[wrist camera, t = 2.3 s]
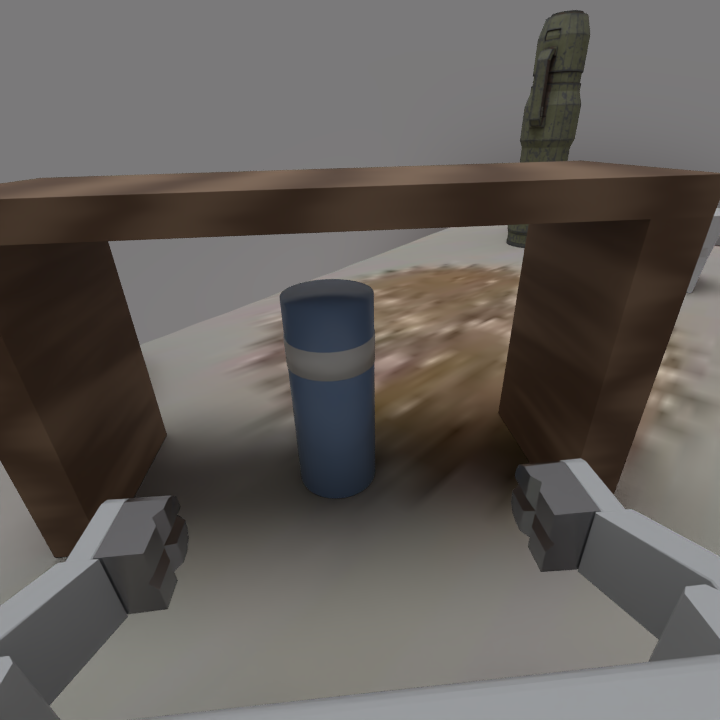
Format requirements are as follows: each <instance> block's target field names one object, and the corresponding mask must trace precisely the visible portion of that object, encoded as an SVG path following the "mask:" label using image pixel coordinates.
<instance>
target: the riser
mask: <svg viewBox="0 0 720 720" xmlns="http://www.w3.org/2000/svg"><path fill="white" fill-rule="evenodd" d="M719 200H720V173H713V172H702V171H691V170H679V169H669V168H657V167H646V166H635V165H623V164H612V163H601V162H590V161H556V162H524V163H494V164H464V165H431V166H402V167H401V166H399V167H371V168H370V167H369V168H337V169H308V170H276V171H275V170H274V171H243V172H215V173H214V172H212V173H182V174H149V175H118V176H88V177H58V178H57V177H56V178H37V179H30V180H22V181H15V182H9V183H1V184H0V461H1V462H2V464H3V466H4V468H5V470H6V471H7V473H8V475H9V477H10V479H11V480H12V482H13V484H14V486H15V487H16V489H17V491H18V493H19V495H20V496H21V498H22V500H23V502H24V504H25V505H26V507H27V509H28V511H29V512H30V514H31V516H32V518H33V520H34V521H35V523H36V525H37V527H38V528H39V530H40V532H41V534H42V536H43V537H44V539H45V541H46V543H47V545H48V546H49V548H50V550H51V552H52V553H53V555H54V557H67V556H69V555H70V553H71V552H72V550H73V548H74V547H75V545H76V544H77V542H78V540H79V539H80V537H81V536H82V534H83V532H84V531H85V529H86V528H87V526H88V524H89V523H90V521H91V520H92V518H93V516H94V515H95V513H96V512H97V510H98V508H99V507H100V505H101V504H102V503H104V502H105V501H107V500H113V499H129V498H134V496H135V494H136V492H137V490H138V488H139V486H140V485H141V483H142V481H143V479H144V477H145V475H146V473H147V471H148V469H149V468H150V466H151V464H152V462H153V460H154V458H155V456H156V454H157V452H158V451H159V449H160V447H161V445H162V443H163V441H164V439H165V437H166V435H167V433H166V430H165V427H164V424H163V420H162V417H161V414H160V410H159V407H158V404H157V401H156V397H155V394H154V391H153V387H152V384H151V381H150V378H149V374H148V371H147V368H146V364H145V361H144V358H143V355H142V351H141V348H140V345H139V341H138V338H137V335H136V332H135V329H134V325H133V322H132V319H131V315H130V312H129V309H128V305H127V302H126V299H125V295H124V293H123V289H122V286H121V282H120V279H119V276H118V273H117V269H116V266H115V263H114V259H113V256H112V253H111V250H110V246H109V243H108V241H121V240H122V241H123V240H146V239H171V238H194V237H195V238H197V237H220V236H221V237H222V236H246V235H270V234H296V233H320V232H344V231H345V232H346V231H367V230H368V231H369V230H394V229H418V228H419V229H420V228H443V227H469V226H494V225H519V224H529V225H528V231H527V237H526V244H525V250H524V256H523V262H522V269H521V275H520V281H519V287H518V294H517V300H516V306H515V312H514V319H513V325H512V331H511V337H510V344H509V350H508V356H507V362H506V368H505V375H504V381H503V387H502V393H501V400H500V406H499V412H498V413H499V415H500V416H501V418H502V419H503V421H504V423H505V424H506V426H507V427H508V429H509V430H510V432H511V434H512V435H513V437H514V438H515V440H516V441H517V443H518V445H519V446H520V448H521V449H522V451H523V452H524V454H525V456H526V457H527V459H528V460H529V462H530V463H540V462H550V461H560V460H569V459H579V458H581V459H583V460H585V461H586V462H587V463H588V464H589V466H590V467H591V468H592V469H593V471H594V472H595V473H596V474H597V475H598V477H599V478H600V479H601V480H602V481H603V483H604V484H605V485H606V486H607V487H608V489H609V490H610V491H611V492H612V494H613V495H614V492H615V489H616V487H617V484H618V481H619V478H620V476H621V473H622V470H623V467H624V464H625V462H626V459H627V456H628V453H629V450H630V448H631V445H632V442H633V439H634V437H635V434H636V431H637V428H638V425H639V423H640V420H641V417H642V414H643V412H644V409H645V406H646V403H647V400H648V398H649V395H650V392H651V389H652V386H653V384H654V381H655V378H656V375H657V373H658V370H659V367H660V364H661V361H662V359H663V356H664V353H665V350H666V347H667V345H668V342H669V339H670V336H671V334H672V331H673V328H674V325H675V322H676V320H677V317H678V314H679V311H680V308H681V306H682V303H683V300H684V297H685V295H686V292H687V289H688V286H689V283H690V281H691V278H692V275H693V272H694V269H695V267H696V264H697V261H698V258H699V256H700V253H701V250H702V247H703V244H704V242H705V239H706V236H707V233H708V230H709V228H710V225H711V222H712V219H713V217H714V214H715V211H716V208H717V205H718V203H719Z"/></svg>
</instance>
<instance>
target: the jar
mask: <svg viewBox="0 0 720 720" xmlns="http://www.w3.org/2000/svg"><path fill="white" fill-rule="evenodd" d="M280 305H281V313H282V321H283V330H284V337H283V338H284V346H285V354H286V362H287V367H288V371H289V379H290V387H291V396H292V404H293V412H294V421H295V429H296V437H297V445H298V454H299V462H300V470H301V478H302V481H303V483H304V485H305V486H306V487H307V488H308V489H309V490H310V491H311V492H313V493H314V494H316V495H319V496H322V497H326V498H345V497H350V496H353V495H355V494H358V493H360V492H361V491H363V490H364V489H365V488H367V487H368V486H369V485H370V483H371V482H372V480H373V478H374V475H375V388H374V362H375V330H374V292H373V289H372V288H371V287H369V286H368V285H366V284H363V283H360V282H356V281H351V280H341V279H325V280H315V281H308V282H304V283H300V284H297V285H294V286H291V287H289V288H287V289H285V290H284V291H283V292H282V293H281V294H280Z"/></svg>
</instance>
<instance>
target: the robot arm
mask: <svg viewBox="0 0 720 720" xmlns="http://www.w3.org/2000/svg"><path fill="white" fill-rule="evenodd" d="M515 478H516V480H517V482H518V484H519V485H518V486H517V487H516V488H515V489H514V490H513V491H512V499H511V504H512V512H513V515H514V518H515V521H516V524H517V526H518V528H519V530H520V531H521V532H523V533H524V534H526V535H527V536H528V537H530V538H529V543H528V548H529V550H530V552H531V554H532V556H533V558H534V560H535V562H536V563H537V565H538V567H539V569H540V571H541V572H548V571H562V570H576V569H578V572H579V573H580V574H581V575H583V576H584V577H585V578H586V579H587V580H589V581H590V582H591V583H592V584H593V585H595V586H596V587H597V588H598V589H599V590H600V591H602V592H603V593H604V594H605V595H606V596H608V597H609V598H610V599H611V600H612V601H614V602H615V603H616V604H617V605H618V606H620V607H621V608H622V609H623V610H624V611H625V612H627V613H628V614H629V615H630V616H631V617H633V618H634V619H635V620H636V621H637V622H639V623H640V624H641V625H642V626H643V627H644V628H646V629H647V630H648V631H649V632H650V633H652V634H653V635H654V636H655V637H656V638H658V639H659V641H658V643H657V645H656V647H655V649H654V651H653V653H652V655H651V657H650V659H649V662H643V663H634V664H625V665H616V666H607V667H598V668H589V669H580V670H571V671H562V672H553V673H544V674H535V675H526V676H517V677H508V678H498V679H489V680H480V681H471V682H462V683H453V684H444V685H435V686H426V687H417V688H408V689H399V690H390V691H381V692H372V693H363V694H354V695H345V696H336V697H327V698H318V699H309V700H300V701H291V702H282V703H273V704H264V705H255V706H246V707H237V708H228V709H219V710H210V711H201V712H192V713H183V714H174V715H165V716H156V717H147V718H138V719H129V720H720V556H718V555H716V554H715V553H713V552H711V551H709V550H707V549H705V548H703V547H702V546H700V545H698V544H696V543H694V542H692V541H691V540H689V539H687V538H685V537H683V536H681V535H679V534H678V533H676V532H674V531H672V530H670V529H668V528H666V527H665V526H663V525H661V524H659V523H657V522H655V521H653V520H652V519H650V518H648V517H646V516H644V515H642V514H640V513H639V512H637V511H635V510H633V509H625V508H624V507H623V506H622V504H621V503H620V502H619V501H618V500H617V498H616V497H615V496H614V495H613V494H612V492H611V491H610V490H609V489H608V487H607V486H606V485H605V484H604V483H603V481H602V480H601V479H600V478H599V477H598V475H597V474H596V473H595V472H594V471H593V469H592V468H591V467H590V466H589V464H588V463H587V462H586V461H585V460H583V459H581V458H579V459H569V460H560V461H550V462H540V463H530V464H520V465H519V466H518V467H517V469H516V473H515ZM179 509H180V504H179V502H178V499H177V497H176V496H173V495H169V496H153V497H137V498H129V499H113V500H107V501H105V502H104V503H102V504H101V505H100V507H99V508H98V510H97V512H96V513H95V515H94V516H93V518H92V520H91V521H90V523H89V524H88V526H87V528H86V529H85V531H84V532H83V534H82V536H81V537H80V539H79V540H78V542H77V544H76V545H75V547H74V548H73V550H72V552H71V553H70V555H69V556H68V558H67V560H66V561H65V562H61V563H57V564H56V565H54V566H53V567H52V568H50V569H49V570H48V571H46V572H45V573H44V574H42V575H41V576H40V577H38V578H37V579H36V580H34V581H33V582H32V583H30V584H29V585H27V586H26V587H25V588H23V589H22V590H21V591H19V592H18V593H17V594H15V595H14V596H13V597H11V598H10V599H9V600H7V601H6V602H5V603H3V604H2V605H1V606H0V720H60V718H59V717H58V716H57V715H56V713H55V712H54V711H53V710H52V708H51V707H50V706H49V705H50V704H51V703H52V702H53V701H54V700H55V699H56V698H57V696H58V695H59V694H60V693H61V692H62V691H63V690H64V688H65V687H66V686H67V685H68V684H69V683H70V682H71V681H72V679H73V678H74V677H75V676H76V675H77V674H78V673H79V671H80V670H81V669H82V668H83V667H84V666H85V665H86V664H87V662H88V661H89V660H90V659H91V658H92V657H93V656H94V654H95V653H96V652H97V651H98V650H99V649H100V648H101V647H102V645H103V644H104V643H105V642H106V641H107V640H108V639H109V638H110V636H111V635H112V634H113V633H114V632H115V631H116V630H117V628H118V627H119V626H120V625H121V624H122V623H123V622H124V621H125V619H126V618H127V617H128V615H127V614H134V613H142V612H150V611H157V610H165V609H168V607H169V604H170V601H171V598H172V595H173V592H174V589H175V586H176V584H177V581H178V580H177V578H176V575H175V572H174V571H175V570H176V569H177V568H178V567H179V566H180V565H181V564H182V563H183V562H184V560H185V556H186V553H187V548H188V539H189V536H188V528H187V525H186V521H185V520H184V519H182V518H181V517H180V516H178V515H177V514H178V512H179Z"/></svg>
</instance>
